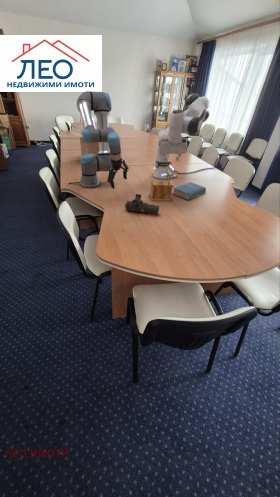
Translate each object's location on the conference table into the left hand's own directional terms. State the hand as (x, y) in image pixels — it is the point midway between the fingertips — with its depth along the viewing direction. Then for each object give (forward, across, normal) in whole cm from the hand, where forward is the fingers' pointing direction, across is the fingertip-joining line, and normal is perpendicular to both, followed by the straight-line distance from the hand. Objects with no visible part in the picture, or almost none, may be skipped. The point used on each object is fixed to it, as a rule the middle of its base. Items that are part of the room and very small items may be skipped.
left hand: (119, 183), depth 165 cm
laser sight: (0, -12, -31) cm, 34 cm away
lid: (0, +19, -26) cm, 32 cm away
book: (+15, +38, -40) cm, 57 cm away
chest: (+10, +15, -27) cm, 33 cm away
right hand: (-16, +27, -26) cm, 41 cm away
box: (+33, +38, +76) cm, 91 cm away
